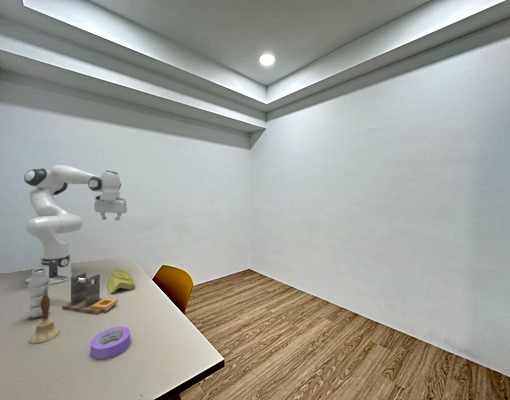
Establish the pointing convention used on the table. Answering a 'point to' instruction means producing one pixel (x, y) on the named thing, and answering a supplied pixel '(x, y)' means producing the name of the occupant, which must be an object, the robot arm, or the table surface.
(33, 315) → the plastic bottle
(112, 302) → the frame
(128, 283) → the plastic component
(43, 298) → the hand bell
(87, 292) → the shaft frame
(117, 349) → the masking tape
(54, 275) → the shaft
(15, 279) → the table surface
